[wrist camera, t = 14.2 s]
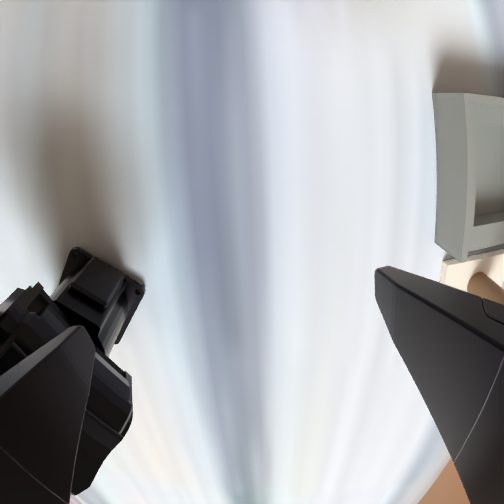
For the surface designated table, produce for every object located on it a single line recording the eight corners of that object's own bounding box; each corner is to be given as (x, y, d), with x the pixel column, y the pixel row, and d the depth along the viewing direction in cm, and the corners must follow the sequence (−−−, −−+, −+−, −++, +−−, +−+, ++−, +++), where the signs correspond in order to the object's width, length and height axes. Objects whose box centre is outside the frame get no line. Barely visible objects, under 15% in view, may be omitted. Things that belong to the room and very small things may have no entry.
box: (432, 93, 18) (463, 92, 15) (516, 102, 18) (547, 105, 14) (434, 242, 23) (460, 263, 19) (513, 227, 23) (539, 242, 19)
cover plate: (441, 260, 24) (522, 336, 14) (503, 248, 24) (580, 306, 14) (424, 350, 28) (475, 432, 18) (482, 332, 28) (536, 398, 18)
